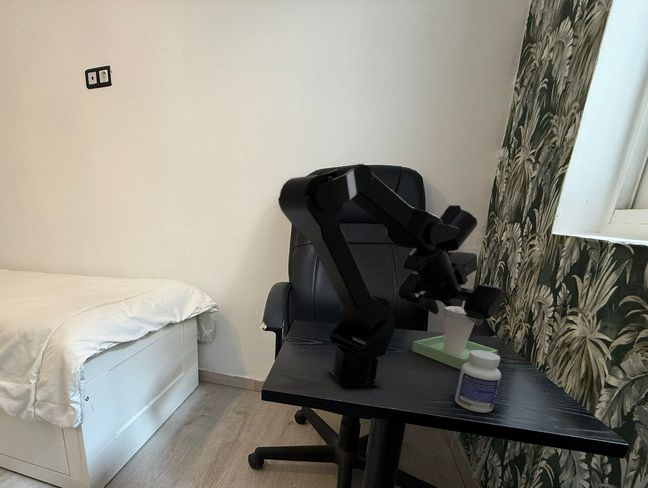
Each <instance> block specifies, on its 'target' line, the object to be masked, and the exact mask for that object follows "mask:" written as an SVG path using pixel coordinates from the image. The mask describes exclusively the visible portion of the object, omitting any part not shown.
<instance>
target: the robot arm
mask: <svg viewBox="0 0 648 488" xmlns="http://www.w3.org/2000/svg"><path fill="white" fill-rule="evenodd" d="M277 201H278V205H279V208H280V211H281V212H282V213H283V214H284V216H285V217H286V218H287V220H288V221H289V223H290V224H291V225H292V226H293V227H294V228H296V229H297V230H298V231H299V232H300V233H302V234H303V235H304V237H306V238H307V239H308V240H309V242H310V244H311V246H312V248H313V250H314V252H315V254H316V256H317V258H318V259H319V262H320V263H321V266H322V267H323V269H324V272H325V274H326V275H327V278H328V279H329V282H330V283H331V285H332V288H333V289H334V292H335V293H336V295H337V297H338V299H339V302H340V303H341V307H340V311H339V318H340V320H339V321H338V323H337V324H336V325H335V326H334V327H333V329H332V330H331V331H330V332H329V339H330V344H332V345H336V352H335V358H334V359H335V360H334V367H333V369H331V370H330V371H329V374H330V376H332V378H333V379H335V381H336V382H337V383H338V384H339V385H340V387H341V388H343V389H361V388H362V389H363V388H365V389H366V388H377V387H378V383H377V382H376V381H375V379H376V378H377V370H378V365H379V359H378V357H379V358H380V357H382V356H383V357H384V356H385V355H386V352H387V350H388V347H389V345H390V342H391V340H392V338H393V335H394V333H395V326H396V325H395V319H394V318H395V317H396V314H395V313H394V312H393V311H392V309H391V304H390V302H389V300H388V298H385V297H381V296H378V295H374V294H371V292H370V290H369V288H368V286H367V283H366V281H365V278H364V276H363V274H362V272H361V269H360V268H359V266H358V264H357V260H356V259H355V256H354V254H353V252H352V250H351V247H350V244H349V243H348V240H347V239H346V236H345V233H344V230H343V229H342V227H341V221H342V216H343V210H344V206H343V205H344V204H345V203H347V202H350V201H352V202H353V203H354V204H355V205H356V206H358V207H359V208H360V209H362V210H363V211H364V212H365V213H367V214H369V215H370V216H371V217H372V218H374V219H375V220H376V221H378V222H379V223H380V224H382V226H384V228H385V229H386V235H387V238H389V239H390V241H392V243H393V244H394V245H395V246H396V247H399V248H406V249H412V250H411V251H410V253H408V254H407V255H406V259H405V260H404V261H403V263H402V269H405V270H410V271H414V272H410V273H409V274H407V276H406V277H405V278H404V280H403V281H402V282H401V284H400V285H398V287H397V294H398V296H399V297H400V299H402V300H406V301H407V302H409V303H411V304H414V305H416V306H417V307H420V308H422V309H424V310H426V311H428V312H429V313H432V314H434V315H438V314H439V312H440V309H439V306H438V303H437V302H441V303H446V304H449V302H450V301H451V300H453V299H454V300H458V301H462V302H463V301H465V304H464V311H465V313H467V314H466V317H468V318H469V319H470V320H471V321H472V322H473V323H474V325H476V326H477V327H481V326H482V325H483V323H484V320H488V319H491V318H492V316H493V315H494V313H495V312H496V311H497V310H498V308H499V307H500V306H501V304H502V303H503V301H504V300H505V299H506V294H505V291H504V288H503V287H500V286H495V285H494V286H493V285H489V284H488V285H487V284H478V285H477V286H476V287H475V288H474V289H471V288H466V287H462V286H465V285H466V284H467V282H469V279H468V277H469V276H470V275H471V274H472V273H474V272H476V271H478V254H477V253H474V252H473V253H472V252H466V251H465V252H463V251H459V249H460V248H461V246H462V245H463V244H464V243H465V242H466V240H467V239H468V238H469V237H470V235H471V234H472V233H473V231H474V230H475V228H477V227H478V219H477V217H475V216H474V215H473V214H472V213H471V212H469V211H467V210H463V209H462V208H461V207H462V206H461V205H459V204H458V205H457V204H454V205H452V204H451V205H450V204H449V205H448V206H447V208H445V211H444V212H443V213H442V215H441V216H438V215H436V214H433V213H432V212H431V211H427V210H423V209H420V208H417V207H413V206H412V205H410V204H409V203H407V202H406V201H405V200H404V198H402V197H401V196H399V195H398V194H397V193H396V192H395V191H394V190H393V189H391V188H390V187H389V186H388V185H387V184H385V183H384V182H383V181H382V180H381V179H380V178H379V177H378V176H376V175H375V173H373V170H372V168H371V166H369V165H366V164H364V163H356V164H350V165H342V166H340V167H338V168H337V169H334V170H332V171H329V172H325V173H322V174H315V175H307V176H298V177H291V178H289V179H288V180H286V181H285V183H283V185H282V187H281V189H280V192H279V197H278V199H277ZM415 271H416V272H415ZM354 337H355V338H354ZM356 338H357V339H356ZM358 339H359V340H358ZM360 340H361V341H360ZM363 341H364V342H363Z"/></svg>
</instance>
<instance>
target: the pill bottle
mask: <svg viewBox="0 0 648 488" xmlns="http://www.w3.org/2000/svg"><path fill="white" fill-rule="evenodd" d="M468 358H469V359H468V360H469V361H470V362H468V363H465V364H463V366H462V368H461V370H460V373H459V378H458V383H457V388H456V391H455V396H454V401H455V403H456V404H457V405H458V406H459V407H462V408H464V409H466V410H469V411H471V412H475V413H483V414H484V413H490V412H492V411H493V410H494V406H495V402H496V399H497V394H498V390H499V387H500V382H501V379H502V373H501V371H500V370H499V369H498V367H499V365H500V362H501V356H500V355H499V354H497V355H496V354H494V353H491V352H487V351H482V350H472V351H470V353H469V357H468Z"/></svg>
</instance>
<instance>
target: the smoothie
mask: <svg viewBox="0 0 648 488" xmlns="http://www.w3.org/2000/svg"><path fill="white" fill-rule="evenodd" d="M464 304H465V301H463V300H462V304H461V306H457V305H456V306H454V305H450V306H445V307H444V310H443V313H444V325H443V326H444V327H443V335H444V343H443V351H444V352H447V353H449V354H452V355H462V354H463V352H464V349H465V347H466V344H467V341H469V339H470V337H471V333H472V331H473V328H474V325H475V324H474V323H473V322H472V321H471V320H470V319H469V318H468V317H466V314H467V313H465V311H464Z"/></svg>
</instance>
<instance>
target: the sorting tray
mask: <svg viewBox="0 0 648 488" xmlns="http://www.w3.org/2000/svg"><path fill="white" fill-rule="evenodd" d="M443 343H444V334H443V335H439V336H433V337H428V338H424V339H419V340H414V341H413V342H412V348H411V352H413V353H417V354H419V355H420V356H423V357H426V358H429V359H431V360H434V361H436V362H440V363H442V364H444V365H447V366H449V367H452V368H455V369H457V370H459V371H461V368H462V366H463V364H465V363H468V362H470V361H469V360H468V359H469V358H468V357H469V353H470V351H472V350H482V351H487V352H491V353H494V354H496V355H498V352H499V350H498V349H495V348H492V347H489V346H485V345H482V344H479V343H475V342H473V341H470V340H468V341H467V344H466V347H465V349H464V352H463V354H462V355H452V354H449V353H447V352H444V351H443Z"/></svg>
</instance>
